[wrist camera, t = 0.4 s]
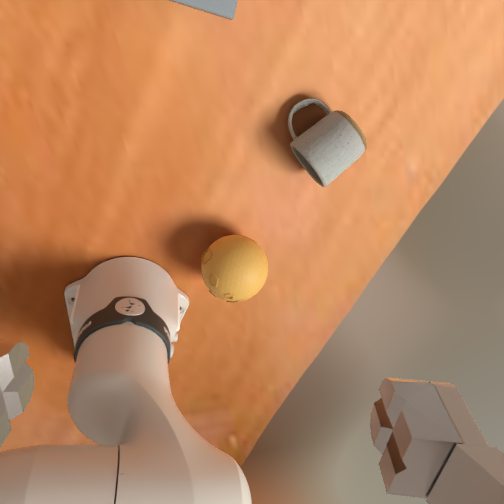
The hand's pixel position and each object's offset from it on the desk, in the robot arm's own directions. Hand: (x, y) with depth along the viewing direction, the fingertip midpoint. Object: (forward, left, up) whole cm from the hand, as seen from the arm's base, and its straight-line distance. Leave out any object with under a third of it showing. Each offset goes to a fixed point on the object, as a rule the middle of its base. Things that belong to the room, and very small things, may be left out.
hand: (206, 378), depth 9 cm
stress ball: (-21, -13, -48) cm, 54 cm away
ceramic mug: (-1, -21, -48) cm, 53 cm away
